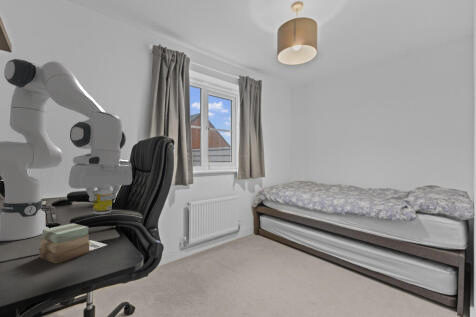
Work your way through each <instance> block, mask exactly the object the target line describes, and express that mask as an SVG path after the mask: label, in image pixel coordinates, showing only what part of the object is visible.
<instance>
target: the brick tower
mask: <svg viewBox="0 0 476 317" xmlns="http://www.w3.org/2000/svg"><path fill="white" fill-rule="evenodd" d="M89 241H90V235H89V226H86V225H82V224H77V223H74V222H73V223H67V224H64V225H59V226H54V227H50V228H48V229H44V230H43V233H42V234H41V239H40V247H39V248H38V250H39V252H38V258H40V259H42V260H45V261H47V262H51V263H53V264H60V263H63V262H65V261H69V260H71V259H74V258H77V257H80V256H83V255H86V254H90V251H89Z"/></svg>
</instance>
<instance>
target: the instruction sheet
mask: <svg viewBox="0 0 476 317" xmlns="http://www.w3.org/2000/svg"><path fill="white" fill-rule="evenodd" d="M106 246H108V244H106V243H102V242H99V241H96V240H91V239H89V252H91V251H95V250H97V249H100V248H104V247H106Z"/></svg>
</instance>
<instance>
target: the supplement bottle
mask: <svg viewBox="0 0 476 317" xmlns="http://www.w3.org/2000/svg"><path fill="white" fill-rule="evenodd" d="M96 188H97V189H96V190H94V191H93V193H94V195H96V196H97V201H93V207H92V213H93V214H96V215H105V214H109V213H111V212H112V210H113V209H112V208H113V207H112V206H113V199H112V194H113V192H112V190H113V189H110V188H112V186H110V184H105V186H103V187H96Z"/></svg>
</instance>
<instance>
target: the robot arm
mask: <svg viewBox="0 0 476 317" xmlns="http://www.w3.org/2000/svg"><path fill="white" fill-rule="evenodd" d="M3 73H4V78H5V81H7V83H9V84H10V85H12V86H15V88H14V91H13V94H12V97H11V102H10V114H9V126H10V128H11V129H12V130H13V131H14V132H16V133H18V134H19V135H22V136H23V137H24V138H25V142H21V141H20V142H19V141H18V142H17V141H8V140H7V141H0V177H1V179H2V181H3V184H4V202H3V203H2V205H1V212H0V242H3V241H4V242H5V241H7V242H8V241H17V240H25V239H29V238H33V237H38V236H40V235H42V233H43V230H44V229H48V228H49V227H48V226H46V212H45V211H43V210H42V208H43V204H44V203H43V200H42V194H43V193H42V192H43V191H42V190H43V189H42V188H43V184H42V182H41V181H40V180H39V179H38V178H35V177H32V176H30V175H29V174H28V172H27V169H29V170H30V169H31V170H32V169H35V170H37V169H50V168H51V169H52V168H57V167H58V166H59V165H60V164H61V163H62V162H63V159H64V154H63V151H62V150H61V148H59V147H58V146H57V145H55V144H54V142H52V140H51V138H50V137H49V135H48V131H47V102H48V101H47V100H48V99H49V98H51V99H52V101H54V103H56V104H57V105H58V106H60V107H62V108H64V109H67V110H70V111H73V112H76V113H79V114H81V115H83V116H84V117H87V118H88V119H86V120H83V121H78V122H76V123H74V124H73V126H72V127H71V128H70V132H69V139H70V141H71V143H72V144H73V145H74V146H75V147H77V148H80V149H84V150H90V153H86V154H81V155H78V156H74V157H73V159H72V162H73V164H74V165H72V166H71V167H70V168H71V169H70V171H69V176H68V185H69V187H70V188H72V189H76V190H77V189H78V190H80V189H85V191H86V193H87V195H88V196H89V197H88V201H89V202H94V201H97V196H96V195H94V192H95V188H97V187H103V186H105V184H110V186H111V188H112V189H111V190H112V192H113V194H112V200H113V199H116V198H117V193H118V192H119V190H120V186H128V185H129V186H130V185H131V184H132V182H133V170H132V166H133V165H132V163H131V161H129V159H127V160H126V159H125V160H123V159H121V150H122V149H123V147H124V146H125V144H126V141H127V140H126V139H127V138H126V135H125V132H124V131H123V128H122V126H123V125H122V120H121V118H120V117H119V115H116V114H112V113H109V112H106V111H105V110H104V109H103V107H102V106H101V105H100V104H99V102H97V101H96V100H95V98H94V97H92V96H91V95H90V94H89V93H88V92H87V91H86V90H85V89H84V87H83V86H82V85H81V84H80V81H79V80H78V78H77V77H76V76H75V74H74V73H73V72H72V71H71V70H70V69H69V67H67V65H65V64H63V63H61V62H59V61H47V62H46V63H44V64H43V65H41V64H40V65H39V64H36V63H33V62H30V61H27V60H23V59H19V58H13V59H10V60H8V61H7V62H6V64H5V67H4V72H3Z"/></svg>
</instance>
